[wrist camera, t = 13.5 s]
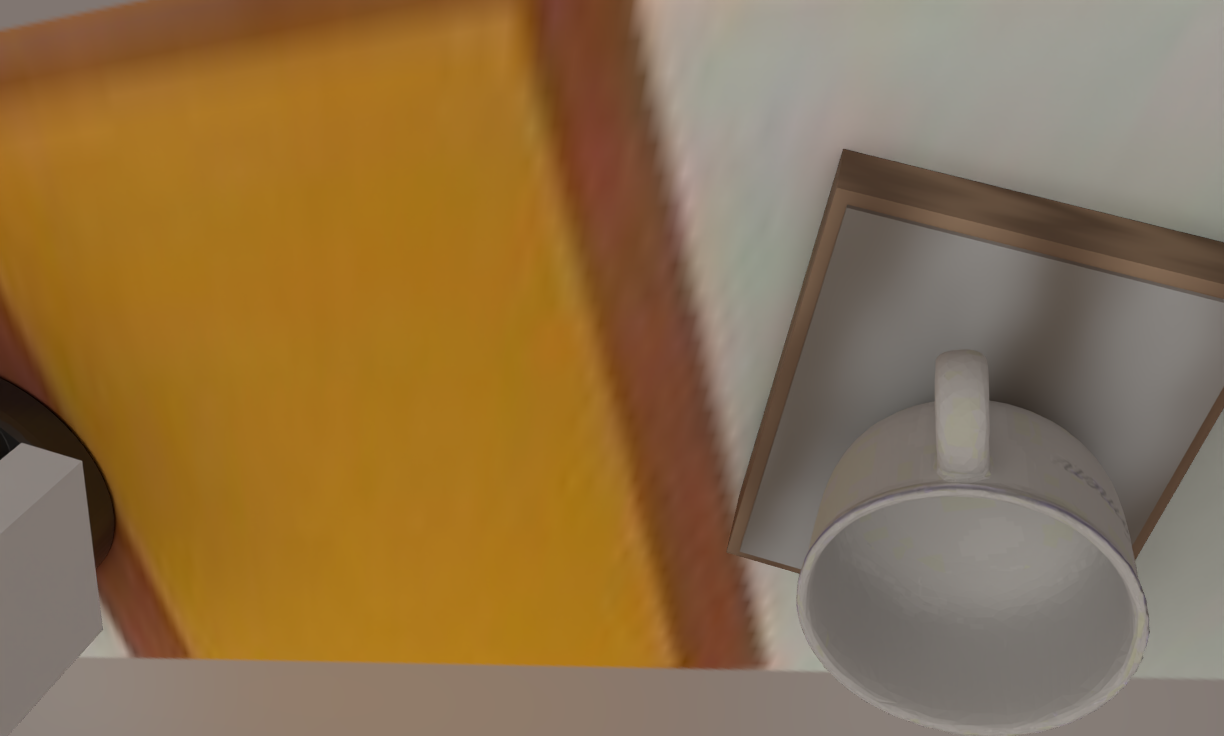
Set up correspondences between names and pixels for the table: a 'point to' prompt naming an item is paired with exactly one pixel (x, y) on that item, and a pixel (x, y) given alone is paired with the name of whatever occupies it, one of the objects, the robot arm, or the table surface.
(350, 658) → the table surface
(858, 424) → the walnut riser
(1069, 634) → the teacup
